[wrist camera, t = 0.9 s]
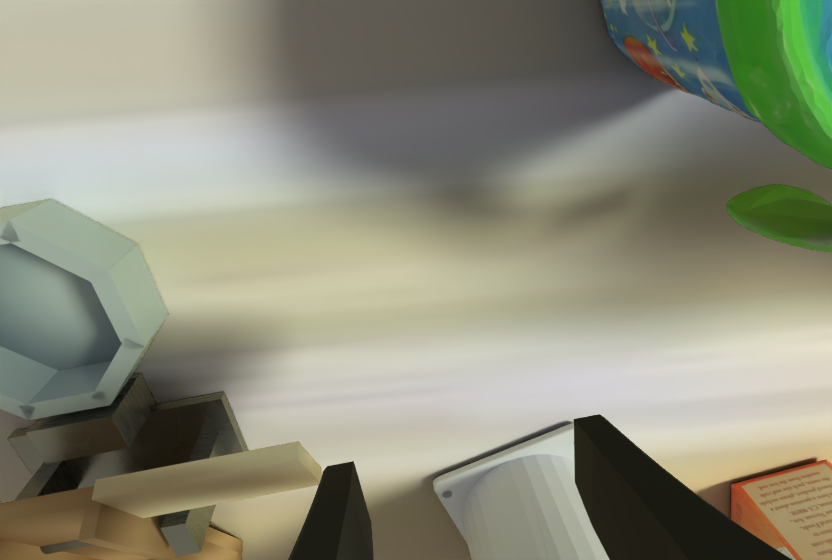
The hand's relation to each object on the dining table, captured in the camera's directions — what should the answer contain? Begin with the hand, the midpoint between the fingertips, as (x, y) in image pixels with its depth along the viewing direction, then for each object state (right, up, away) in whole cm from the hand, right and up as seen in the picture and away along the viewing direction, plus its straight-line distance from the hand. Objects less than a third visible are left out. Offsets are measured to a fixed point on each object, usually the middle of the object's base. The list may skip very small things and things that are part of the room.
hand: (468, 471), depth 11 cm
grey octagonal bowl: (-15, +4, +8) cm, 17 cm away
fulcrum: (-14, -3, +11) cm, 18 cm away
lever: (-10, -5, +9) cm, 15 cm away
